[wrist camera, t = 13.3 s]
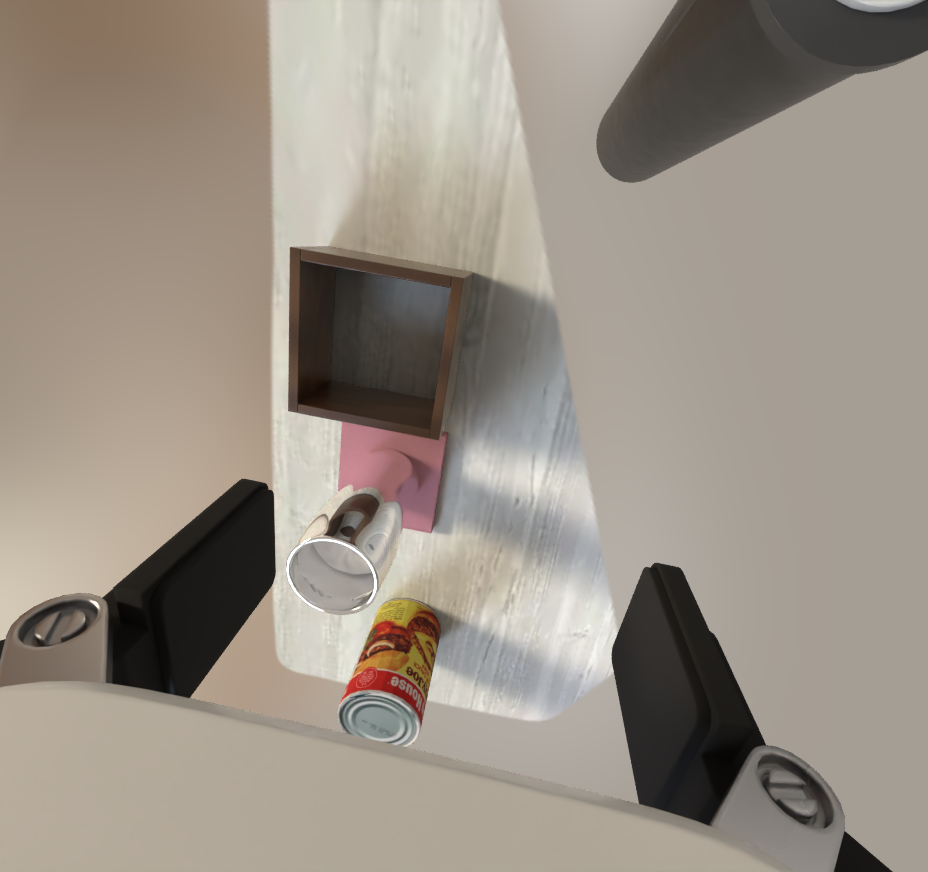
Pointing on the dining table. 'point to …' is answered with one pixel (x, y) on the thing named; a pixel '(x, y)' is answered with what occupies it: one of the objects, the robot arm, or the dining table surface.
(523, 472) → the dining table surface
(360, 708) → the canned food
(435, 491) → the mat
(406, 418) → the brown wooden box
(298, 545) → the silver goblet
